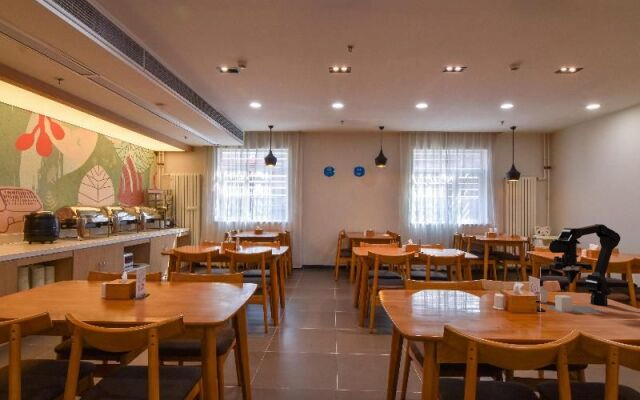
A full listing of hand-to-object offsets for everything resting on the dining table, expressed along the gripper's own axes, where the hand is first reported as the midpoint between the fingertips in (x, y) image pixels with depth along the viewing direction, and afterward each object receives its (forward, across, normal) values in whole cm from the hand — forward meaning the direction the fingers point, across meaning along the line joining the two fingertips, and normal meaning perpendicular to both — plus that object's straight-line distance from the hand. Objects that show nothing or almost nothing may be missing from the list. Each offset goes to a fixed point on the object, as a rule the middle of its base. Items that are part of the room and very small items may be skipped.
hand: (570, 283), depth 206 cm
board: (+12, +3, +7) cm, 14 cm away
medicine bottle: (+12, +11, -12) cm, 20 cm away
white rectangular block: (+11, +9, +9) cm, 17 cm away
